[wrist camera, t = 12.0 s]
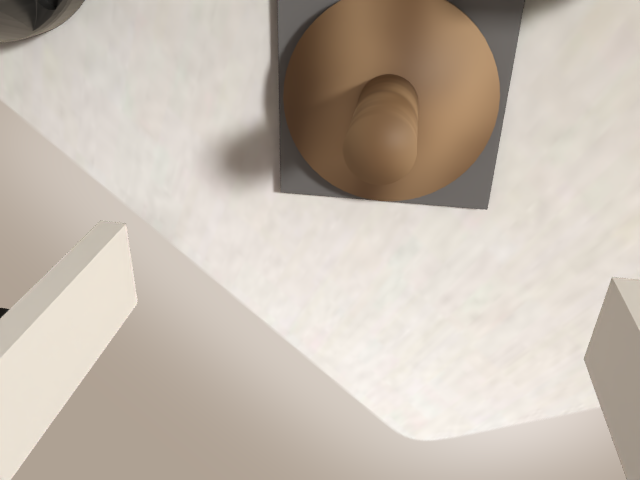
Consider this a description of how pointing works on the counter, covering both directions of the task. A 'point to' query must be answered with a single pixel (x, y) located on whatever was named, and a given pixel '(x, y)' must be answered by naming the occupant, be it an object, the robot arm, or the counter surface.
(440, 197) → the mat
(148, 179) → the counter surface
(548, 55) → the counter surface
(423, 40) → the lid
